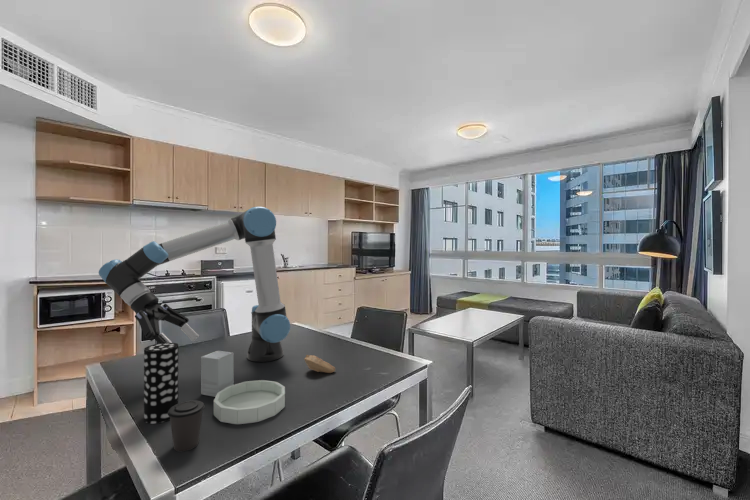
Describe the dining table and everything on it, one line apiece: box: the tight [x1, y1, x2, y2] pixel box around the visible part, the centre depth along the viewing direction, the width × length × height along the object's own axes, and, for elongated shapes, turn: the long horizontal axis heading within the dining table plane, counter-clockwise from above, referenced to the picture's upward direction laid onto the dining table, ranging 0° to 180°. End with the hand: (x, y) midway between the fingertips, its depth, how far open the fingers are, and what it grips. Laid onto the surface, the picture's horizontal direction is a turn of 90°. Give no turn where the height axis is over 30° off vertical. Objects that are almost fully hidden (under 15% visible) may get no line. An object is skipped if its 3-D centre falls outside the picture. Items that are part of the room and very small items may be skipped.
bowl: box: [213, 379, 286, 425], centre depth 103 cm, size 20×20×4 cm
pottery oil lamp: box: [303, 354, 336, 374], centre depth 131 cm, size 9×12×7 cm
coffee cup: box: [167, 400, 206, 452], centre depth 83 cm, size 8×8×10 cm
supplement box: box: [200, 350, 235, 397], centre depth 113 cm, size 7×7×13 cm
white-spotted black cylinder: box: [143, 342, 179, 425], centre depth 97 cm, size 8×8×20 cm
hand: (185, 344), depth 113 cm, fingers open, 13 cm apart
